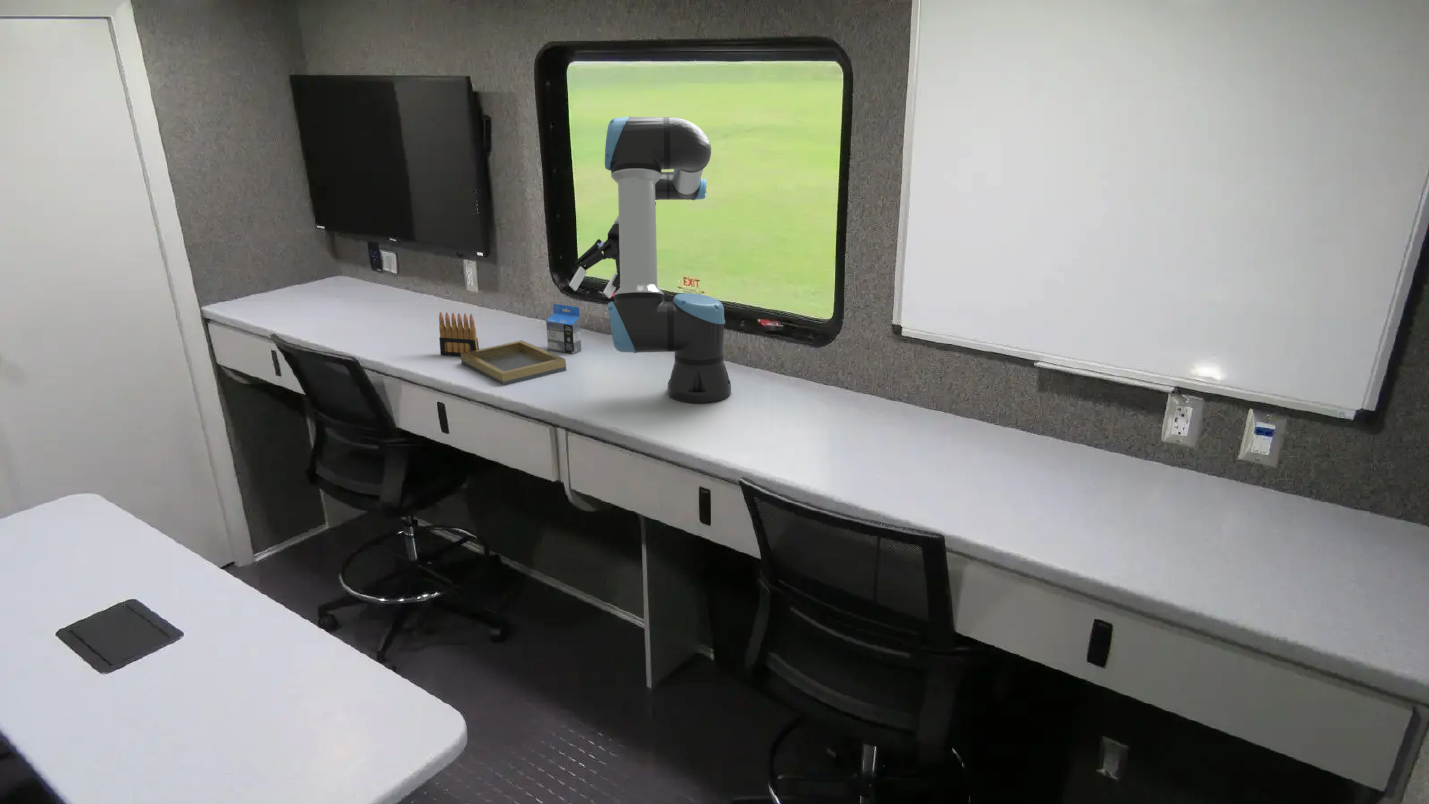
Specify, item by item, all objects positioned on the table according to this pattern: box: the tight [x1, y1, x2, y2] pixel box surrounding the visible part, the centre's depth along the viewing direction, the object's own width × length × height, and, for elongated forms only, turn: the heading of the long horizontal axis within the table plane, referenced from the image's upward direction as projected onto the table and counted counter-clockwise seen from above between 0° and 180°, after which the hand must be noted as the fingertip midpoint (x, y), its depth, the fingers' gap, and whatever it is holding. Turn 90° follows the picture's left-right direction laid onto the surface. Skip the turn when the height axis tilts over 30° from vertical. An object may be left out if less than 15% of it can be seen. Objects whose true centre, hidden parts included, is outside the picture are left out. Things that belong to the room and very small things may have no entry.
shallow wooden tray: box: [460, 340, 567, 386], centre depth 220 cm, size 22×18×3 cm
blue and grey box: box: [546, 303, 582, 355], centre depth 233 cm, size 9×4×12 cm, turn 64°
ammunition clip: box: [438, 311, 480, 358], centre depth 228 cm, size 11×2×12 cm, turn 78°
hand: (589, 291), depth 237 cm, fingers open, 13 cm apart
